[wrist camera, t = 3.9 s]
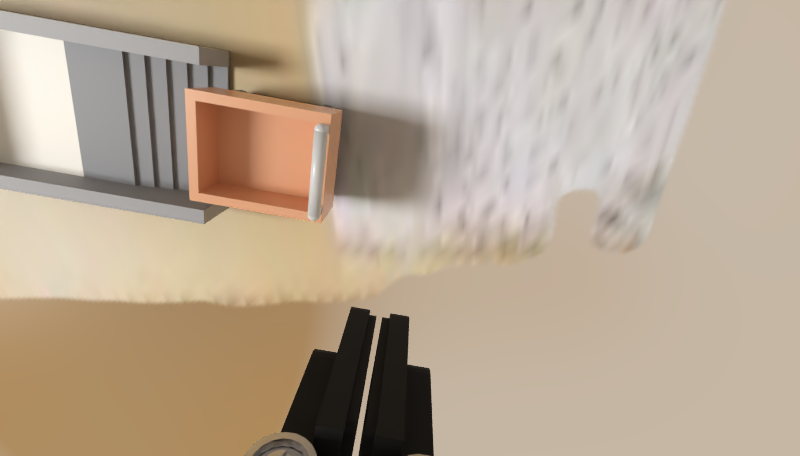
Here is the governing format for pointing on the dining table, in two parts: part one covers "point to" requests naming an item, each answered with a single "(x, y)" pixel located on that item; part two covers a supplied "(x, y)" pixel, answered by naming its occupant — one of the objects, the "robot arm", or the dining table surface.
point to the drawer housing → (100, 115)
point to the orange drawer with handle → (261, 152)
